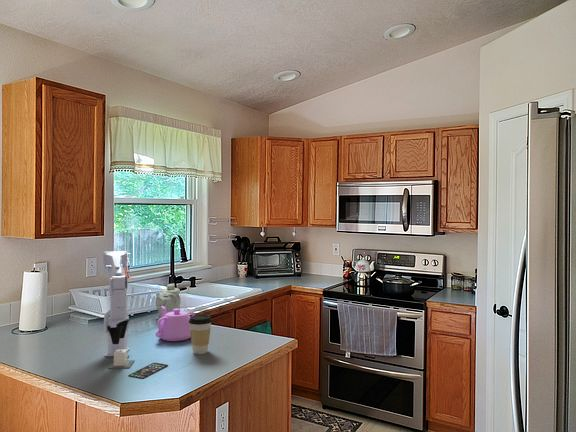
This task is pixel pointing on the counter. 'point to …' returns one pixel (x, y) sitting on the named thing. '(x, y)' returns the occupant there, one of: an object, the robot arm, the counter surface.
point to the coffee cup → (200, 333)
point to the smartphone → (148, 370)
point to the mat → (127, 365)
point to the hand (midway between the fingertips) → (118, 341)
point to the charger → (120, 357)
